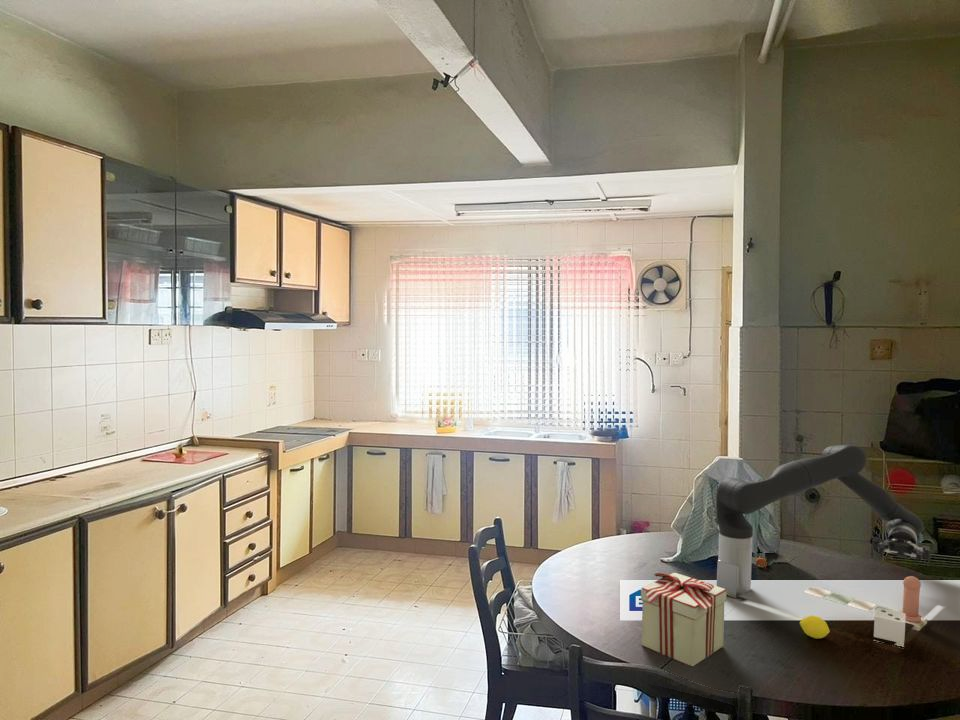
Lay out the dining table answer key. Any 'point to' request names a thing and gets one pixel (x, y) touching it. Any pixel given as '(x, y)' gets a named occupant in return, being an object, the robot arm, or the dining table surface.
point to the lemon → (814, 627)
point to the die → (890, 626)
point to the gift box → (683, 617)
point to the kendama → (761, 562)
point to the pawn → (911, 599)
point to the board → (856, 603)
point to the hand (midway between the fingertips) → (899, 554)
